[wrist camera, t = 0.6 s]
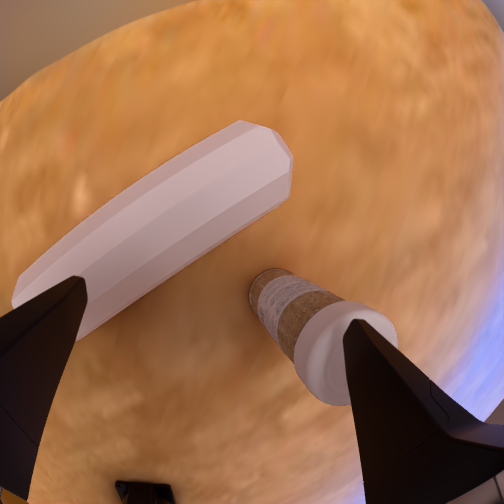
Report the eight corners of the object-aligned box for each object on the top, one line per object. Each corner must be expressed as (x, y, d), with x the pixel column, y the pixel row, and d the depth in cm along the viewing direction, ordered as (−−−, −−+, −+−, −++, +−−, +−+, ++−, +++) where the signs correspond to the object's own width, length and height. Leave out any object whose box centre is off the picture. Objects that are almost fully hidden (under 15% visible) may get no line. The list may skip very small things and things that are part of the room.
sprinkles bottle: (303, 314, 25) (399, 388, 12) (251, 326, 24) (311, 422, 11) (297, 262, 24) (402, 299, 11) (242, 272, 24) (303, 327, 10)
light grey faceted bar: (248, 78, 19) (-11, 263, 16) (316, 134, 16) (6, 348, 13) (257, 142, 26) (45, 288, 23) (308, 197, 23) (69, 357, 20)
